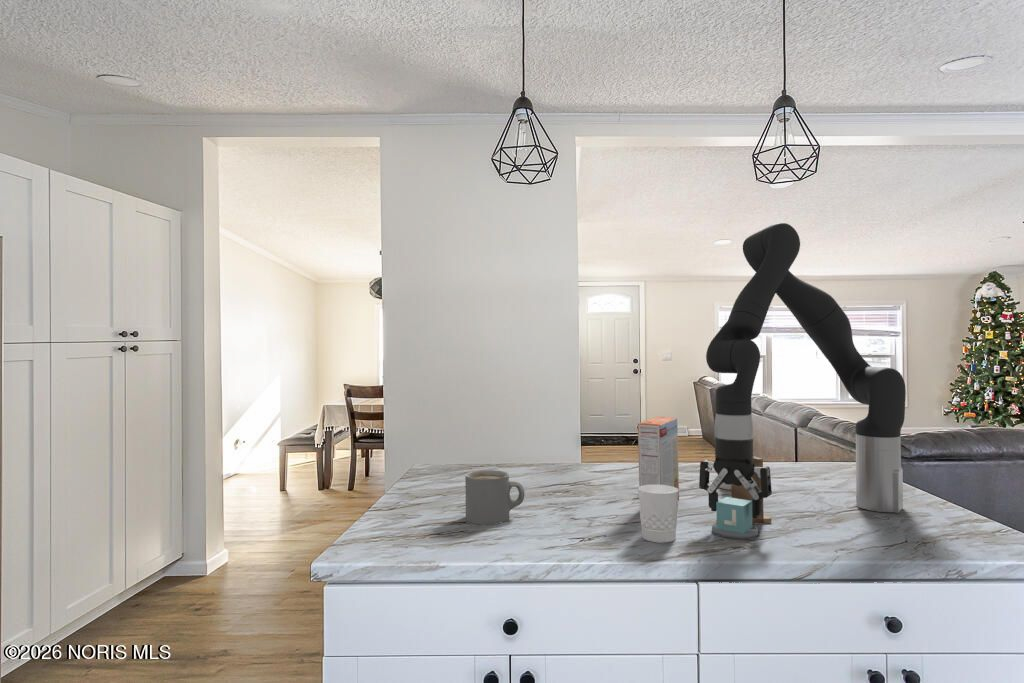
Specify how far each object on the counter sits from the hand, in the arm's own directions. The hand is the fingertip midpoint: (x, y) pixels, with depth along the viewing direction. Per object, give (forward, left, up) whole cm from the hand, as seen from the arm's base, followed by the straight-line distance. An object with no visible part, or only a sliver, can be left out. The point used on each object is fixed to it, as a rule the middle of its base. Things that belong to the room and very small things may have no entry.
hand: (734, 513), depth 132 cm
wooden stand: (+2, -13, -4) cm, 14 cm away
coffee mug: (+47, +22, -4) cm, 52 cm away
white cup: (+11, +13, -4) cm, 17 cm away
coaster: (0, 0, -4) cm, 4 cm away
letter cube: (0, 0, -3) cm, 3 cm away
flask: (+15, -39, -4) cm, 42 cm away
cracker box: (+22, -10, -4) cm, 25 cm away
